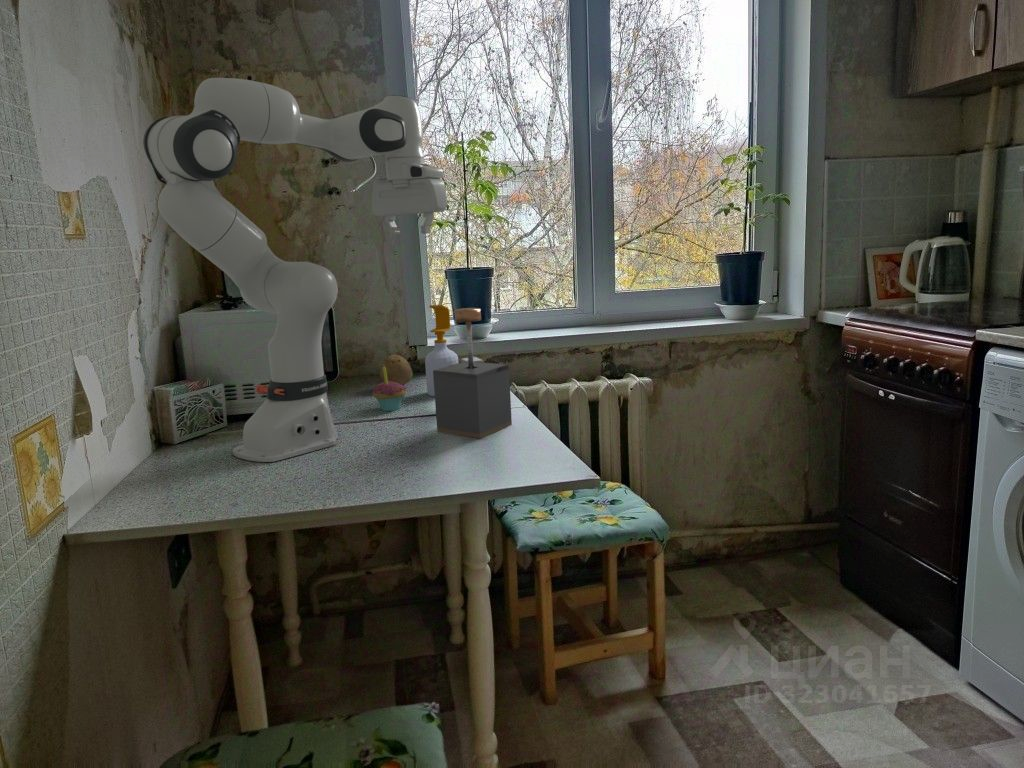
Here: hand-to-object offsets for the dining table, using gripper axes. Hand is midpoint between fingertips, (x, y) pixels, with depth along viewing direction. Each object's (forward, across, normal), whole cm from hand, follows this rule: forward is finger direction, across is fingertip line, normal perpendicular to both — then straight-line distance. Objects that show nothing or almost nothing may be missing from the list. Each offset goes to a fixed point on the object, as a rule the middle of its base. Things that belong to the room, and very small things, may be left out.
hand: (410, 234), depth 164 cm
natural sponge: (+44, -27, +19) cm, 54 cm away
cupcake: (+44, -12, +1) cm, 45 cm away
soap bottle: (+44, -10, +20) cm, 49 cm away
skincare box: (+44, +6, +13) cm, 46 cm away
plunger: (+32, +19, -5) cm, 37 cm away
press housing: (+43, +19, -5) cm, 48 cm away
